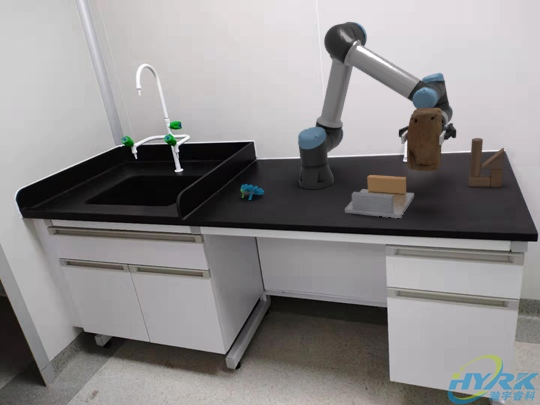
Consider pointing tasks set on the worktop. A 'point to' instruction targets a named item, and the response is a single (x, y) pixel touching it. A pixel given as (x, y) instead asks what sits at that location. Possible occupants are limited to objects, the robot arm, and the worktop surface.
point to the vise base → (397, 205)
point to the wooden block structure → (485, 166)
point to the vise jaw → (387, 184)
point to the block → (424, 139)
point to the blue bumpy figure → (250, 190)
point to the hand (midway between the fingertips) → (421, 140)
